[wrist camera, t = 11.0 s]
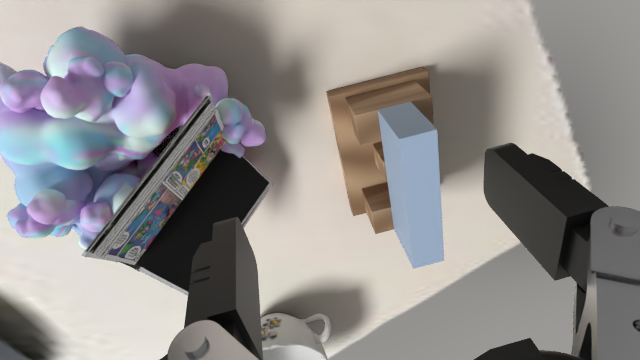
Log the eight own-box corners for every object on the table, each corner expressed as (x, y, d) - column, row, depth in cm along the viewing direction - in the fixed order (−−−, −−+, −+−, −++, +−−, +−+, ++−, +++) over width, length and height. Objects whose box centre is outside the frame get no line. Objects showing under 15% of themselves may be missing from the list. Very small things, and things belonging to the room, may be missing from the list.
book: (-52, -16, 28) (-179, 233, 19) (268, -7, 30) (273, 217, 22) (78, 144, 45) (40, 308, 37) (272, 142, 48) (275, 295, 40)
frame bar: (377, 109, 36) (399, 139, 31) (410, 101, 36) (437, 129, 31) (394, 229, 43) (413, 268, 38) (421, 221, 43) (444, 260, 38)
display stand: (326, 91, 40) (337, 114, 35) (422, 66, 41) (447, 86, 36) (350, 208, 49) (362, 240, 44) (431, 187, 49) (452, 217, 44)
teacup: (271, 365, 62) (275, 418, 55) (211, 329, 56) (206, 383, 49) (350, 314, 59) (363, 364, 52) (295, 270, 52) (302, 320, 46)
